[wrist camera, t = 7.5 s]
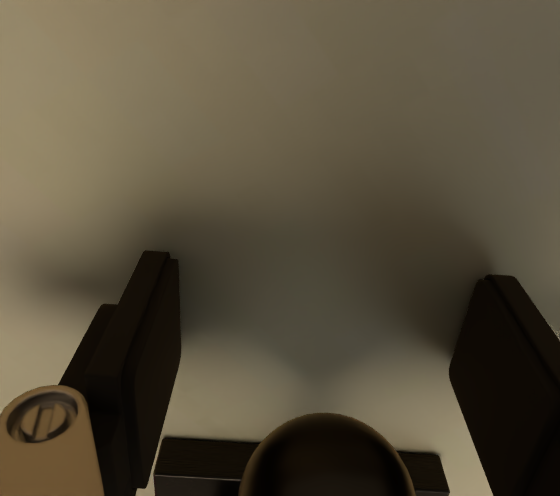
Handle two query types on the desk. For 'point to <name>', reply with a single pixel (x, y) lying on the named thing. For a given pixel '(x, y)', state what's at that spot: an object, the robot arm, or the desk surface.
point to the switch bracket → (233, 460)
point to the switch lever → (325, 461)
